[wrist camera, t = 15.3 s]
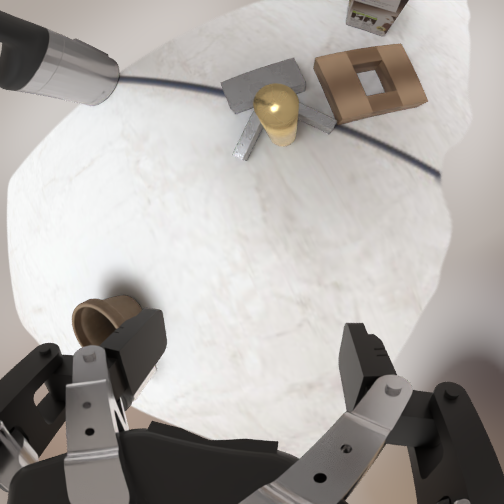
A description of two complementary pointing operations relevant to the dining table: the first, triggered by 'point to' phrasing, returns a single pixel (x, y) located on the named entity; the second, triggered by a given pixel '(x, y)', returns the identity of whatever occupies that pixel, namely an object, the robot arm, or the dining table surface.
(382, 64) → the hollow rectangular block
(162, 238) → the dining table surface
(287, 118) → the axle
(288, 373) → the dining table surface
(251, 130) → the v block
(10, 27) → the robot arm
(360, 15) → the coffee box
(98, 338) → the flower pot
